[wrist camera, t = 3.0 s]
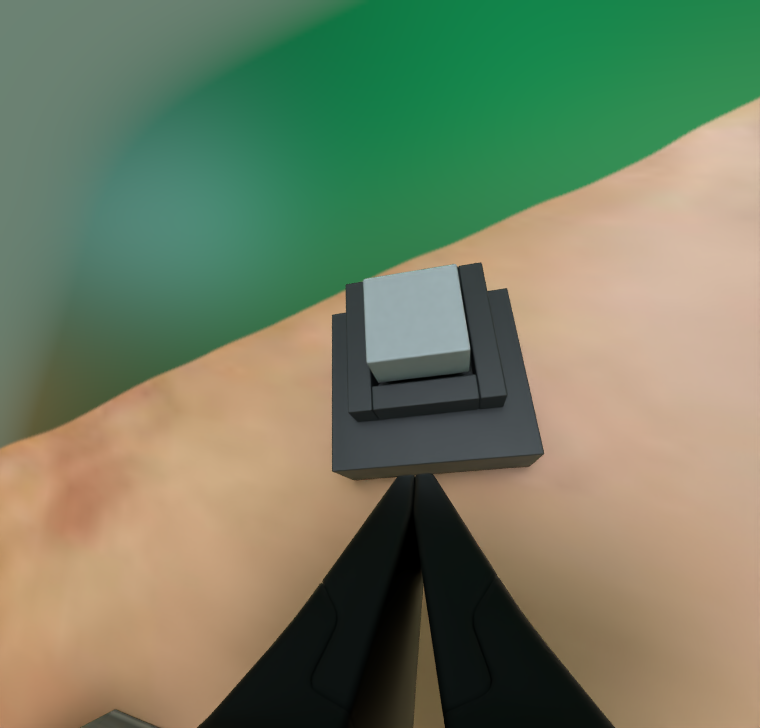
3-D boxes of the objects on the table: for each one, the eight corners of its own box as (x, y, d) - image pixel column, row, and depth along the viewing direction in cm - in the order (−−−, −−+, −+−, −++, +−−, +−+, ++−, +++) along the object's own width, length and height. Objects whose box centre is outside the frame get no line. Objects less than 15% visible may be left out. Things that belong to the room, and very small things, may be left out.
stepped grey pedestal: (530, 466, 21) (553, 446, 15) (352, 480, 22) (319, 466, 17) (498, 314, 24) (508, 257, 19) (349, 335, 26) (321, 288, 21)
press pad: (469, 372, 18) (470, 349, 15) (377, 383, 18) (365, 363, 16) (457, 294, 19) (456, 263, 17) (373, 306, 20) (362, 278, 18)
